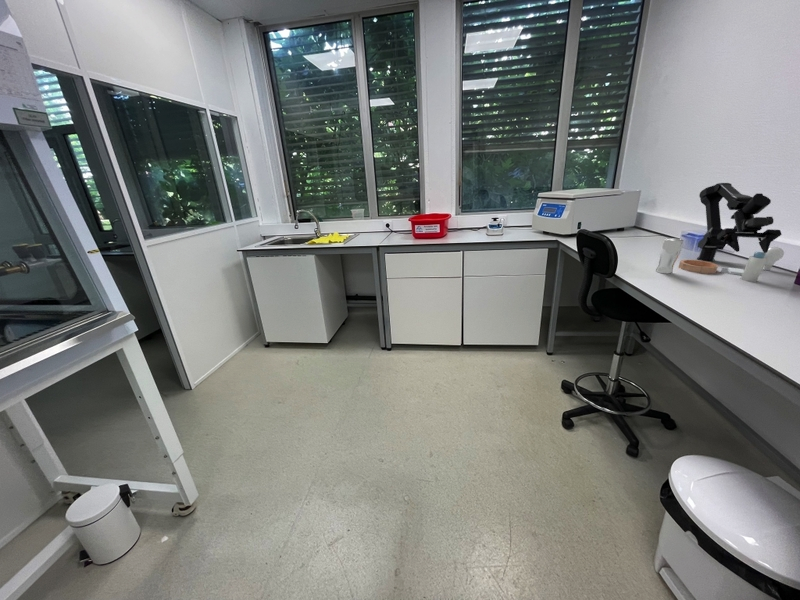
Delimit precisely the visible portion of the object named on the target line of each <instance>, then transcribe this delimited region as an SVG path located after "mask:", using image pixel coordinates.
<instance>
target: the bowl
mask: <svg viewBox="0 0 800 600" xmlns="http://www.w3.org/2000/svg"><path fill="white" fill-rule="evenodd" d="M718 267H719V265H718V264H716V263H714V262H710V261H703V260H697V259H681V260H680V261H679V265H678V269H679V268H680V269H681V270H683V271H686V272H691V273H697V274H698V273H699V274H715V273H716V272H717V270H718Z"/></svg>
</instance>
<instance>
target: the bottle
mask: <svg viewBox="0 0 800 600" xmlns="http://www.w3.org/2000/svg"><path fill="white" fill-rule="evenodd" d="M765 254H766V253H763V251H754V254H753V255H750V256H749V258H748V260H747V262H746V265H745V267H744V272H743V274H742V276H740V280H742V281H746V282H752V283H755V282H756V283H757V282H758V279H759V277H760V276H761V273H762V271H763V269H762V268H763V266H764V264H765V262H766V259H767V258H765V257H764V256H765Z"/></svg>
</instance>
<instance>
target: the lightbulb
mask: <svg viewBox="0 0 800 600" xmlns="http://www.w3.org/2000/svg"><path fill="white" fill-rule="evenodd" d="M762 252H763V251H762ZM763 253H764V252H763ZM784 254H785V252H784V249H782V248H781V247H778V246H769V249H768V252H767V253H766V254H765V256H764V257H765V258H767V259H766V262H765V264H764V266H763V268H762V271H765V272H766V271H768V272H769V271H771V269H772V267H773V265H774V264H775V263H776V262H777V261H779V260H780V259H782V258H783V257H784Z"/></svg>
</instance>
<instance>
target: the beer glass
mask: <svg viewBox="0 0 800 600" xmlns="http://www.w3.org/2000/svg"><path fill="white" fill-rule="evenodd" d="M683 245H684V239H681V238H676V237H674V238H673V237H665V238H664V240H663V242H662V244H661V248H660V252H659V261H658V265H657V266H656V268H655V272H656V273H659V274H663V273H664V275H665V274H666V275H672V274H673V270H674V266H675V263H676V261H677V259H679V256H680V254H681V251H682V249H683ZM671 273H672V274H671Z"/></svg>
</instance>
